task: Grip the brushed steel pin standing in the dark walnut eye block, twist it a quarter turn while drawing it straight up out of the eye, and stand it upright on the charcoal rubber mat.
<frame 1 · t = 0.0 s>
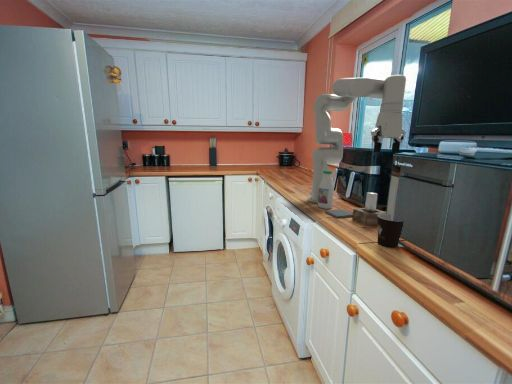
hand: (386, 152, 106), 31 cm above the worktop, tool pointing down, fingers open, 9 cm apart
rubber mat: (339, 214, 127), on the worktop
milk bottle: (324, 207, 140), on the worktop
coffee mug: (387, 243, 93), on the worktop
eye block: (368, 221, 117), on the worktop
steel pin: (370, 207, 116), in the eye block
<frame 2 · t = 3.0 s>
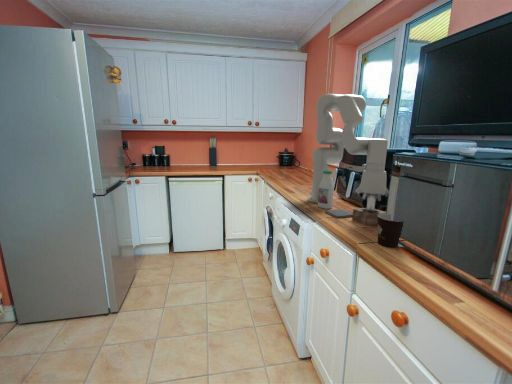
hand: (370, 207, 116), 6 cm above the worktop, tool pointing down, fingers closed on steel pin, 4 cm apart
steel pin: (370, 207, 116), in the eye block, touching gripper
everything else where it was.
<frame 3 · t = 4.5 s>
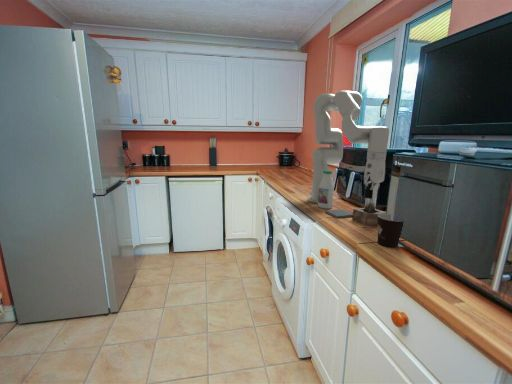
hand: (371, 196, 115), 11 cm above the worktop, tool pointing down, fingers closed on steel pin, 4 cm apart
steel pin: (371, 196, 115), point 11 cm above the worktop, touching gripper
everything else where it was.
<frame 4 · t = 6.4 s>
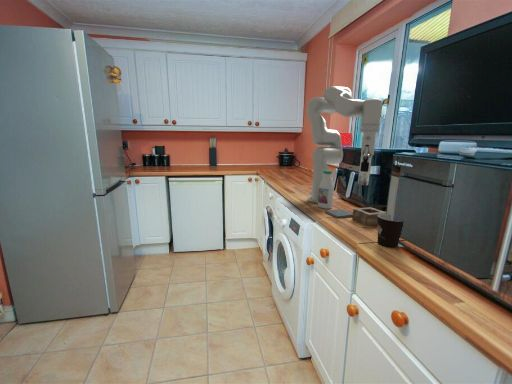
hand: (364, 170, 116), 23 cm above the worktop, tool pointing down, fingers closed on steel pin, 4 cm apart
steel pin: (364, 170, 116), point 23 cm above the worktop, touching gripper
everything else where it was.
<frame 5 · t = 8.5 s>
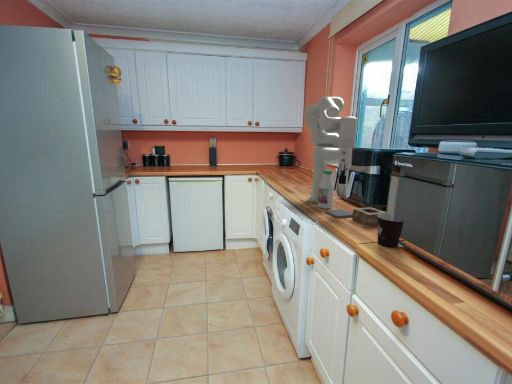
hand: (342, 182, 124), 16 cm above the worktop, tool pointing down, fingers closed on steel pin, 4 cm apart
steel pin: (342, 182, 124), point 16 cm above the worktop, touching gripper
everything else where it was.
when the fingers open (9 cm above the worktop, at t = 10.1 s): steel pin drops 1 cm, resting on rubber mat.
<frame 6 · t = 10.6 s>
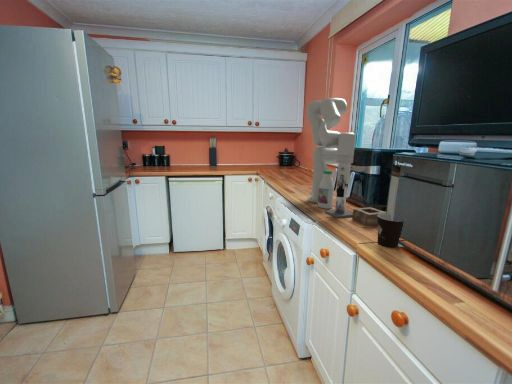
hand: (341, 195, 125), 10 cm above the worktop, tool pointing down, fingers open, 9 cm apart
steel pin: (340, 199, 126), on the rubber mat, point 8 cm above the worktop
everything else where it was.
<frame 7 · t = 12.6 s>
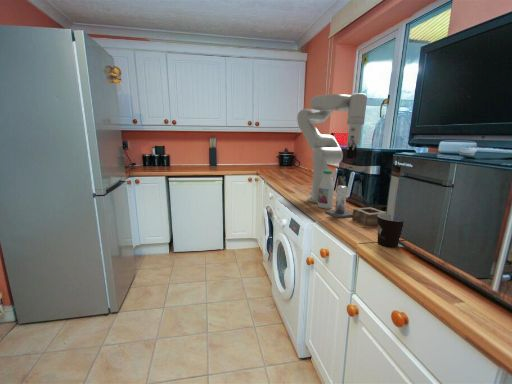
hand: (351, 157, 126), 28 cm above the worktop, tool pointing down, fingers open, 9 cm apart
nothing on the worktop moved.
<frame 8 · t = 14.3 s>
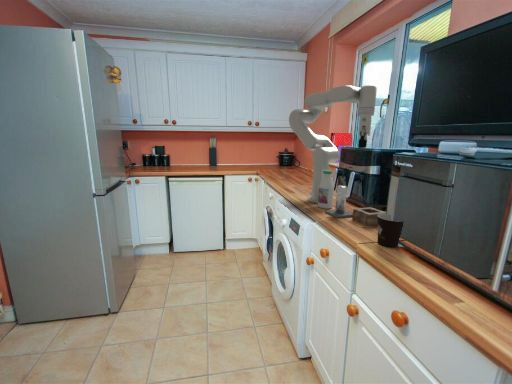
hand: (362, 147, 130), 32 cm above the worktop, tool pointing down, fingers open, 9 cm apart
nothing on the worktop moved.
at the end: steel pin inside the target area on the rubber mat (0.1 cm from its centre), point 7.5 cm above the rubber mat's base; steel pin tilted 0°; the gripper is holding nothing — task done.
